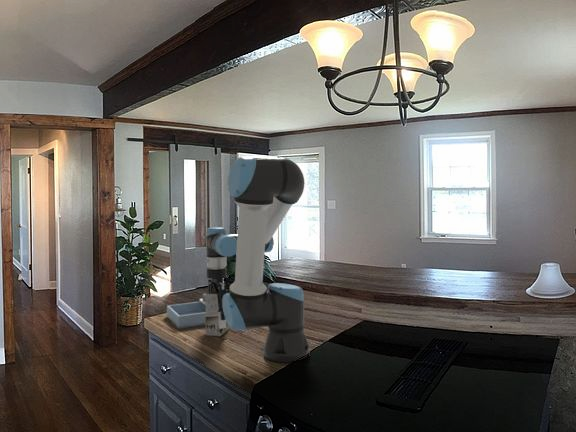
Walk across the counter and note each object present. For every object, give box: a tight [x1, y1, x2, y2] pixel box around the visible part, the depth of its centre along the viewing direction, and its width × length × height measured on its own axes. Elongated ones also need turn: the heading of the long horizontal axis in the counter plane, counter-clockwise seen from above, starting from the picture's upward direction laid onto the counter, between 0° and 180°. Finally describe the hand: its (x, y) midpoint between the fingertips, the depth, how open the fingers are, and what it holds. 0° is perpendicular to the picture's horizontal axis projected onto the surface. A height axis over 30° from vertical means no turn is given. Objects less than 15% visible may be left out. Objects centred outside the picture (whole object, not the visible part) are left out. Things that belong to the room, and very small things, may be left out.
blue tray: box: [166, 301, 206, 330], centre depth 187 cm, size 20×20×5 cm
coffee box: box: [204, 288, 230, 337], centre depth 168 cm, size 9×6×16 cm
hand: (217, 324), depth 168 cm, fingers closed on coffee box, 10 cm apart
